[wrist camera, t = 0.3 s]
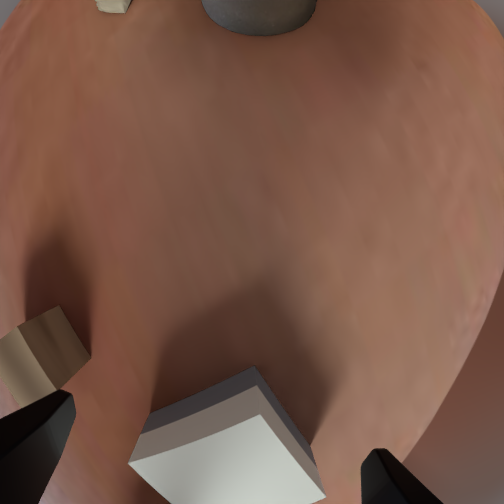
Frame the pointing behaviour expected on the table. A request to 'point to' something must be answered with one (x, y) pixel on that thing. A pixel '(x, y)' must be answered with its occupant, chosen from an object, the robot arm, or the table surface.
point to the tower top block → (228, 457)
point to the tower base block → (220, 394)
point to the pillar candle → (260, 15)
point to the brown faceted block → (40, 356)
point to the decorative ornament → (113, 5)
